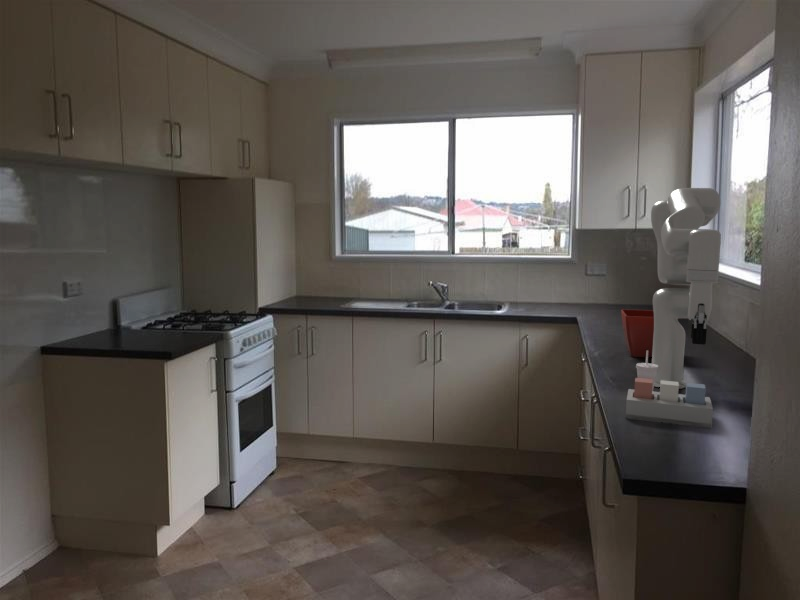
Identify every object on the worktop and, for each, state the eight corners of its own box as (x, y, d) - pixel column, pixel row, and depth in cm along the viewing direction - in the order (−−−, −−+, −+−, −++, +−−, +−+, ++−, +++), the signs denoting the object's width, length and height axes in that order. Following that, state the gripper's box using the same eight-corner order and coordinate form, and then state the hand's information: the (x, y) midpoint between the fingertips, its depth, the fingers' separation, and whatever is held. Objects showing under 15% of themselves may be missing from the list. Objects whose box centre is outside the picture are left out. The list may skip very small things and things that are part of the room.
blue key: (685, 398, 175) (686, 382, 175) (703, 400, 174) (704, 384, 173) (685, 403, 171) (686, 386, 171) (704, 405, 170) (705, 388, 169)
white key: (659, 396, 178) (660, 380, 177) (677, 397, 176) (678, 381, 176) (659, 400, 174) (660, 383, 173) (677, 402, 172) (678, 385, 171)
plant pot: (623, 358, 250) (625, 315, 248) (618, 348, 269) (621, 308, 267) (676, 361, 246) (678, 317, 244) (667, 351, 264) (670, 310, 262)
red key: (634, 393, 180) (635, 377, 180) (651, 395, 178) (652, 379, 178) (633, 397, 176) (634, 381, 175) (651, 399, 174) (652, 383, 174)
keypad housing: (627, 406, 185) (628, 388, 184) (708, 415, 177) (709, 397, 176) (625, 418, 174) (626, 399, 173) (711, 428, 166) (712, 408, 165)
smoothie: (651, 393, 199) (654, 349, 198) (660, 399, 193) (663, 353, 191) (630, 393, 199) (633, 348, 197) (639, 399, 193) (642, 353, 191)
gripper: (685, 274, 178) (682, 335, 180) (687, 278, 162) (683, 345, 164) (716, 275, 175) (711, 337, 177) (720, 279, 159) (715, 347, 161)
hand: (698, 341), depth 171 cm, fingers open, 9 cm apart
